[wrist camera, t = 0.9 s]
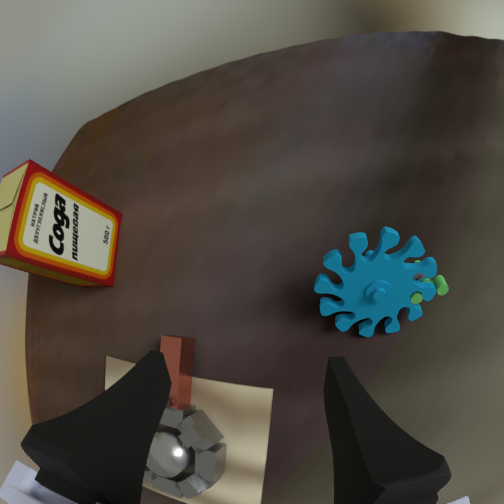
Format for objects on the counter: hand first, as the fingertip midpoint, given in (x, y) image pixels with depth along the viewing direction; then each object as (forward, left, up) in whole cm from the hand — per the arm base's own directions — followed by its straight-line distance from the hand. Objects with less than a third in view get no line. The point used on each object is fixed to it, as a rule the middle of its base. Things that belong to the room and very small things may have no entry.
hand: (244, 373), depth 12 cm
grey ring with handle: (-8, +11, -14) cm, 20 cm away
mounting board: (-12, +12, -15) cm, 22 cm away
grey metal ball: (-12, +11, -15) cm, 22 cm away
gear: (+6, -7, -15) cm, 18 cm away
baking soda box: (+9, +26, -15) cm, 31 cm away
